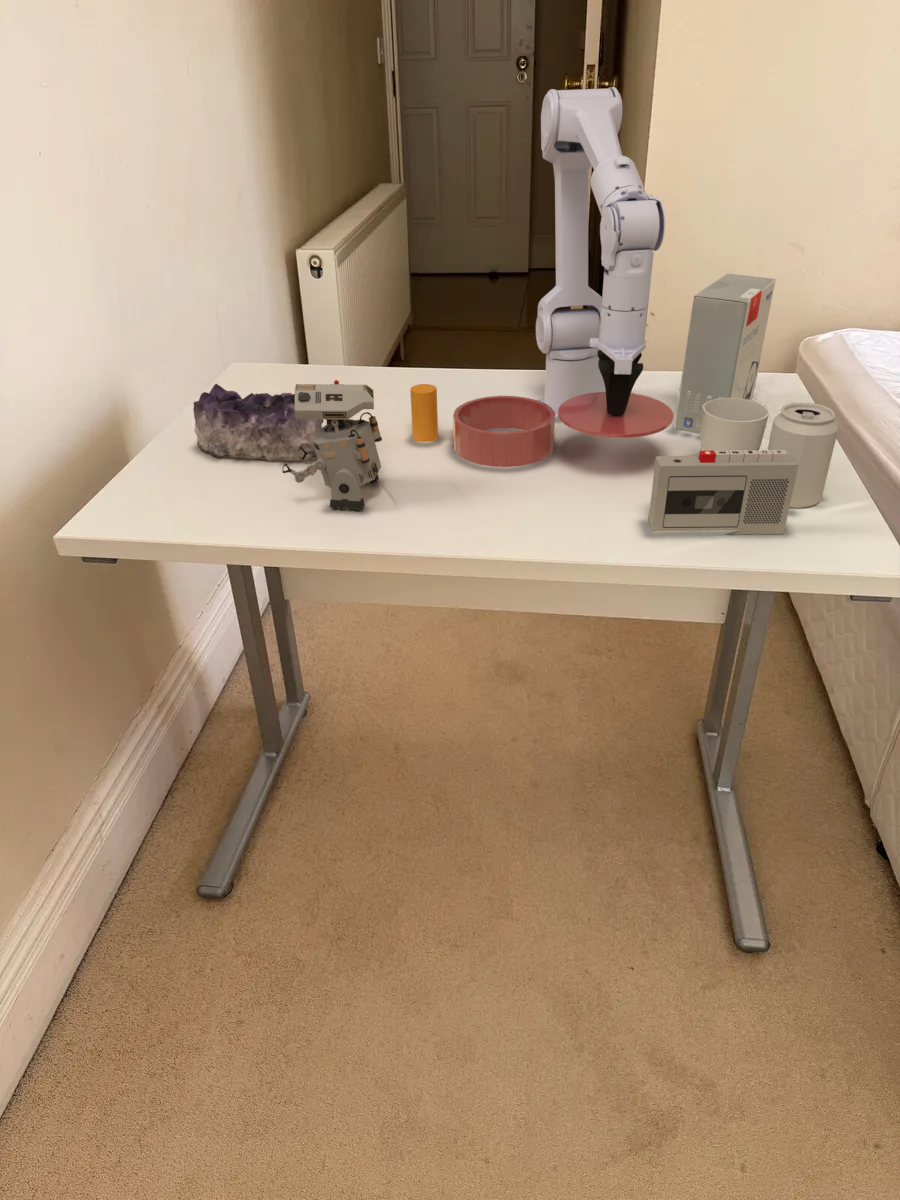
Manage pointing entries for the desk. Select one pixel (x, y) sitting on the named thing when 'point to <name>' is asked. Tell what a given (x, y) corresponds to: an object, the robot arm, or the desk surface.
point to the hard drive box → (723, 345)
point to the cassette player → (723, 491)
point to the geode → (252, 426)
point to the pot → (504, 445)
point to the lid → (615, 416)
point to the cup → (733, 424)
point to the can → (806, 447)
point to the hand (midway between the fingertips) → (615, 409)
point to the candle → (424, 412)
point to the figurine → (340, 439)
